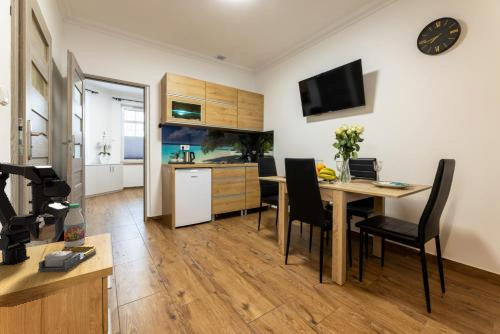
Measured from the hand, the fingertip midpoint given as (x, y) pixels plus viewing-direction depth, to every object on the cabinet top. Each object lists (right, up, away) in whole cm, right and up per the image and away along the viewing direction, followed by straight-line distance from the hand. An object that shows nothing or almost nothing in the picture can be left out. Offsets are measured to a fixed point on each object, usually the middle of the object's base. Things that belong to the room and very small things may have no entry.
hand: (43, 236), depth 85 cm
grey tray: (+9, -11, +2) cm, 14 cm away
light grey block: (+9, -10, -3) cm, 14 cm away
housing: (0, -1, 0) cm, 1 cm away
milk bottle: (-3, -11, +19) cm, 23 cm away
